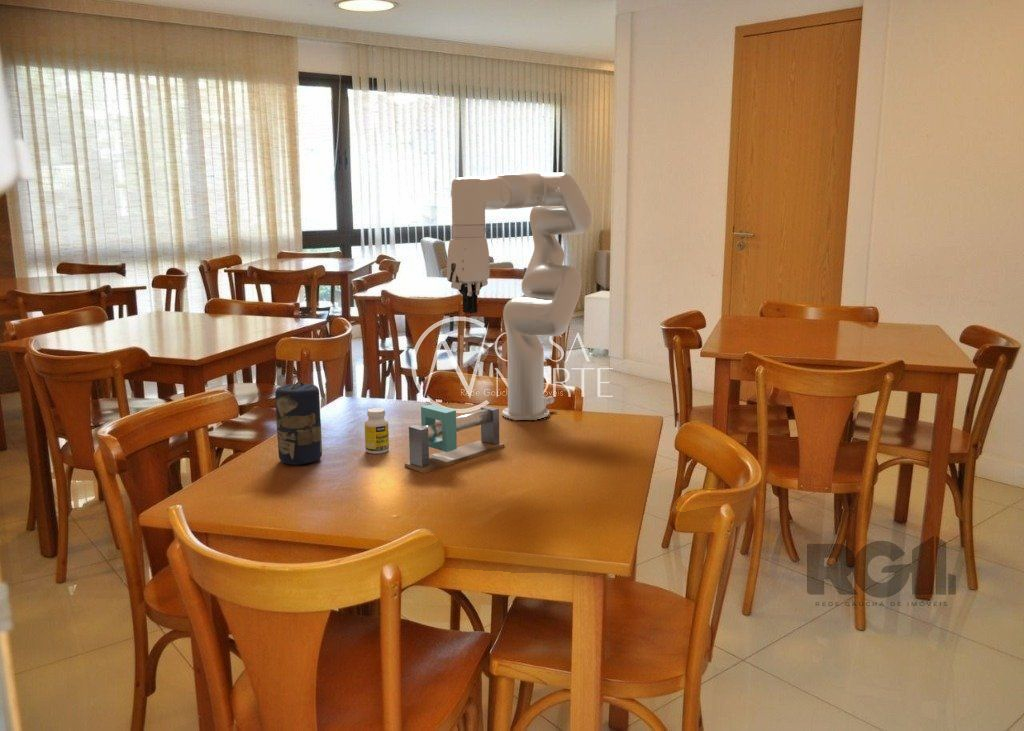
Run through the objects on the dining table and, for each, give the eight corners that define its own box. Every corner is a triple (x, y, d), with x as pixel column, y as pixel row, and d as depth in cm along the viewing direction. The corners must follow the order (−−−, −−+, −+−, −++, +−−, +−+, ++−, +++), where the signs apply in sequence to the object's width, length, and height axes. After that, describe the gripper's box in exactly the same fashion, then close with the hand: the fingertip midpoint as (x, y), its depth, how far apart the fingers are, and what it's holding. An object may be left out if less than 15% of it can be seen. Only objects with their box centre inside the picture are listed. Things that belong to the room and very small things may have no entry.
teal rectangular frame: (432, 441, 191) (431, 404, 189) (456, 448, 185) (455, 410, 184) (422, 444, 188) (420, 406, 187) (446, 451, 183) (445, 413, 181)
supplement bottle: (377, 455, 192) (375, 414, 190) (360, 451, 196) (358, 410, 194) (394, 450, 197) (392, 409, 195) (377, 446, 200) (376, 405, 198)
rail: (487, 443, 201) (486, 405, 199) (499, 446, 199) (499, 408, 197) (410, 467, 184) (408, 426, 182) (422, 471, 181) (421, 430, 179)
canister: (269, 463, 187) (264, 384, 184) (299, 452, 196) (294, 375, 192) (303, 469, 183) (298, 388, 179) (331, 457, 191) (327, 379, 187)
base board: (485, 441, 202) (485, 438, 202) (504, 447, 198) (504, 443, 198) (404, 466, 184) (404, 462, 184) (424, 473, 180) (424, 469, 180)
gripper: (480, 231, 201) (481, 307, 205) (433, 233, 190) (435, 314, 194) (503, 231, 196) (503, 310, 200) (456, 234, 185) (458, 317, 189)
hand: (470, 312), depth 197 cm, fingers closed
